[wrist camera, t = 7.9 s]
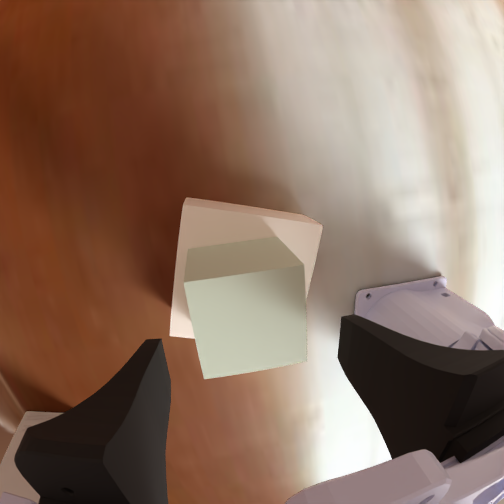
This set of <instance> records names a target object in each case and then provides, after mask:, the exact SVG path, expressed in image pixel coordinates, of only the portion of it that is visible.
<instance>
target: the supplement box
mask: <svg viewBox="0 0 504 504" xmlns="http://www.w3.org/2000/svg"><path fill="white" fill-rule="evenodd" d="M61 414H63V413H55V412H35V411H26V412H25V414H24V416H23V418H22V420H21V422H20V424H19V426H18V428H17V430H16V432H15V434H14V436H13V438H12V440H11V443H10V445H9V447H8V449H7V451H6V453H5V456H4V458H3V460H2V462H1V464H0V498H1V495H2V492H7V493H11V494H14V495H17V496H21V497H24V498H27V499H30V500H32V501H34V502H36V503H37V504H38V503H39V499H40V495H39V494H38V493H37V492H36V491H35V490H34V489H33V488H32V487H31V485H30V484H29V483H28V482H27V481H26V480H25V478H24V477H23V476H22V475H21V473H20V472H19V470H18V469H17V467H16V465H15V462H14V457H15V454H16V451H17V449H18V447H19V445H20V442H21V440H22V438H23V436H24V433H25V431H26V429H27V428H28V427H31V426H34V425H37V424H39V423H42V422H45V421H47V420H50V419H52V418H54V417H56V416H59V415H61Z"/></svg>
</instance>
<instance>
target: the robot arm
mask: <svg viewBox="0 0 504 504" xmlns="http://www.w3.org/2000/svg"><path fill="white" fill-rule="evenodd" d="M434 282H435V283H434ZM446 283H447V279H446V278H445V277H444V276H439V277H434V278H428V279H423V280H417V281H412V282H406V283H400V284H394V285H388V286H382V287H376V288H370V289H363V290H360V291H358V293H357V294H356V301H355V312H354V315H349V316H343V317H341V328H340V339H339V348H338V359H339V362H340V364H341V366H342V369H343V371H344V373H345V375H346V377H347V378H348V380H349V381H350V383H351V384H352V386H353V387H354V389H355V390H356V392H357V393H358V395H359V396H360V398H361V399H362V401H363V402H364V404H365V405H366V407H367V408H368V410H369V411H370V413H371V415H372V416H373V418H374V420H375V422H376V424H377V426H378V428H379V430H380V432H381V434H382V436H383V439H384V441H385V443H386V445H387V448H388V450H389V452H390V455H391V458H392V460H389V461H387V462H384V463H381V464H379V465H376V466H373V467H370V468H367V469H364V470H361V471H358V472H355V473H352V474H348V475H345V476H342V477H338V478H335V479H331V480H328V481H324V482H321V483H319V484H316V485H313V486H310V487H308V488H305V489H303V490H301V491H300V492H298V493H297V494H295V495H293V496H292V497H290V498H289V499H288V500H287V501H286V503H285V504H497V503H498V502H499V501H500V500H502V499H504V330H502V329H500V328H498V327H496V326H495V325H494V323H493V321H492V320H491V318H490V317H489V316H488V315H487V314H486V313H485V312H484V311H482V310H481V309H479V308H477V307H476V306H474V305H473V304H471V303H469V302H468V301H466V300H465V299H463V298H461V297H460V296H458V295H457V294H455V293H453V292H452V291H450V290H448V289H447V288H446ZM433 284H434V285H433ZM369 293H370V294H369ZM367 294H369V296H368V297H366V295H367ZM170 403H171V379H170V375H169V371H168V367H167V362H166V358H165V353H164V349H163V344H162V339H148V340H145V342H144V343H143V344H142V345H141V346H140V347H139V349H138V350H137V351H136V352H135V353H134V355H133V356H132V357H131V358H130V359H129V361H128V362H127V363H126V364H125V365H124V366H123V367H122V368H121V369H120V371H119V372H118V373H117V374H116V375H115V376H114V377H113V378H112V379H111V380H110V381H109V382H108V383H106V384H105V385H104V386H103V387H102V388H101V389H99V390H98V391H97V392H96V393H94V394H93V395H92V396H90V397H89V398H87V399H86V400H84V401H83V402H81V403H80V404H78V405H77V406H75V407H74V408H72V409H70V410H68V411H66V412H65V413H63V414H61V415H59V416H56V417H54V418H52V419H50V420H47V421H45V422H42V423H39V424H37V425H34V426H31V427H28V428H27V429H26V431H25V433H24V436H23V438H22V440H21V442H20V445H19V447H18V449H17V451H16V454H15V457H14V462H15V465H16V467H17V469H18V470H19V472H20V473H21V475H22V476H23V477H24V478H25V480H26V481H27V482H28V483H29V484H30V485H31V487H32V488H33V489H34V490H35V491H36V492H37V493H38V494H39V495H40V499H39V503H38V504H168V497H167V483H166V461H165V450H166V438H167V429H168V421H169V412H170ZM0 504H37V503H36V502H34V501H32V500H30V499H27V498H24V497H21V496H17V495H14V494H11V493H7V492H2V495H1V498H0Z"/></svg>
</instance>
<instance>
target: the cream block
mask: <svg viewBox="0 0 504 504" xmlns="http://www.w3.org/2000/svg"><path fill="white" fill-rule="evenodd" d="M322 230H323V225H322V224H320V223H318V222H316V221H314V220H313V219H311V218H309V217H307V216H305V215H302V214H296V213H290V212H284V211H278V210H272V209H265V208H259V207H252V206H246V205H239V204H232V203H225V202H218V201H211V200H204V199H196V198H188V197H186V199H185V201H184V203H183V208H182V215H181V223H180V231H179V240H178V248H177V257H176V267H175V277H174V287H173V299H172V311H171V324H170V336H175V337H184V338H194V339H195V337H194V332H193V327H192V323H191V318H190V313H189V308H188V303H187V298H186V293H185V287H184V275H185V267H186V260H187V252H188V249H191V248H198V247H205V246H212V245H220V244H227V243H234V242H241V241H248V240H256V239H263V238H270V237H278V238H279V239H280V240H281V241H282V242H283V243H284V244H285V245H286V246H287V247H288V248H289V249H290V250H291V251H292V252H293V253H294V254H295V255H296V256H297V258H298V259H299V260H300V261H301V262H302V263H303V264H304V269H305V292H306V299H307V295H308V291H309V287H310V283H311V279H312V274H313V270H314V266H315V261H316V257H317V252H318V248H319V243H320V239H321V234H322Z"/></svg>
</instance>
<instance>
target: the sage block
mask: <svg viewBox="0 0 504 504" xmlns="http://www.w3.org/2000/svg"><path fill="white" fill-rule="evenodd" d="M184 287H185V293H186V298H187V303H188V308H189V313H190V318H191V323H192V327H193V332H194V337H195V341H196V346H197V350H198V355H199V359H200V363H201V368H202V372H203V376H204V379H209V378H216V377H223V376H230V375H237V374H243V373H249V372H255V371H261V370H266V369H272V368H277V367H282V366H287V365H292V364H297V363H302V362H306V361H307V321H306V292H305V269H304V264H303V263H302V262H301V261H300V260H299V259H298V258H297V256H296V255H295V254H294V253H293V252H292V251H291V250H290V249H289V248H288V247H287V246H286V245H285V244H284V243H283V242H282V241H281V240H280V239H279V238H278V237H270V238H263V239H256V240H248V241H241V242H234V243H227V244H220V245H212V246H205V247H198V248H191V249H188V252H187V260H186V267H185V275H184Z"/></svg>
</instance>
